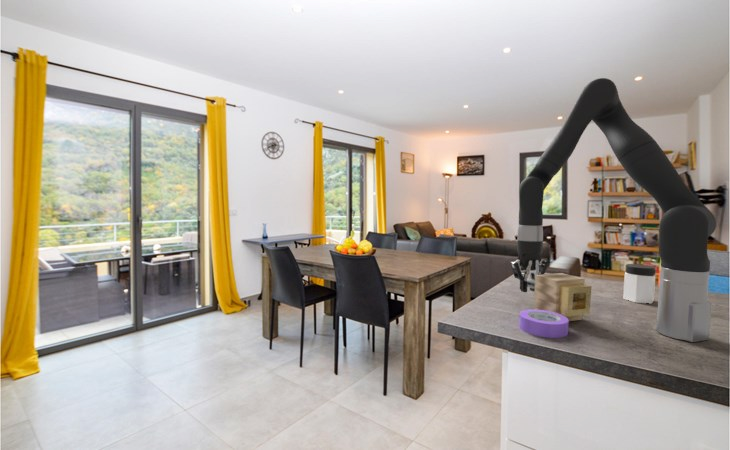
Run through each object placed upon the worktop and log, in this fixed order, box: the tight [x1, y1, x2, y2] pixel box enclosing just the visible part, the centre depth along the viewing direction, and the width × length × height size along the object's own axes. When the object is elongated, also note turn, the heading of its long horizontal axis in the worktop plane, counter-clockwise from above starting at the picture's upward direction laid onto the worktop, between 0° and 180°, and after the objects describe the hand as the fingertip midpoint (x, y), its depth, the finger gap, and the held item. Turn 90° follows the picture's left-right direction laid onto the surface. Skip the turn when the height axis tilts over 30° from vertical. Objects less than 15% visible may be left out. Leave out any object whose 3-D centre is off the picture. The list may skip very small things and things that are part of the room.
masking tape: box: [518, 308, 570, 339], centre depth 94 cm, size 12×12×4 cm
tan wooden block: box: [533, 272, 585, 322], centre depth 104 cm, size 8×10×12 cm
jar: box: [622, 263, 657, 305], centre depth 121 cm, size 9×8×12 cm
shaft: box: [523, 275, 576, 300], centre depth 109 cm, size 19×3×3 cm, turn 17°
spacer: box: [558, 283, 592, 317], centre depth 99 cm, size 3×8×8 cm, turn 107°
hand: (528, 291), depth 116 cm, fingers closed on shaft, 3 cm apart
